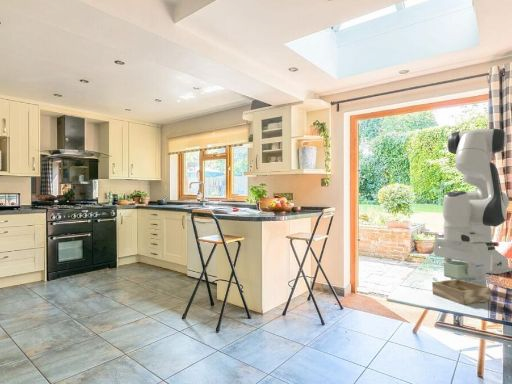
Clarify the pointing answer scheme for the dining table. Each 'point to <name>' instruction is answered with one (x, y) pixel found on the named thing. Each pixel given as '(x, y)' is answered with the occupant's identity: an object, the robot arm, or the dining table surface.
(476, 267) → the light bulb box
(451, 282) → the birch crate
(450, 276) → the green crate
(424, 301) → the dining table surface
